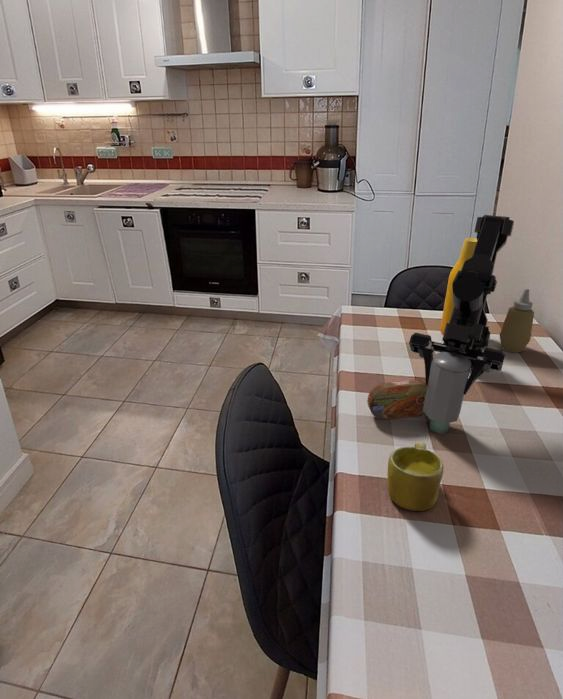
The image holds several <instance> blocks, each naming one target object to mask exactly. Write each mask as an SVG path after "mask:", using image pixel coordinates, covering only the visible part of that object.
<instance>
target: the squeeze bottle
mask: <svg viewBox="0 0 563 699" xmlns="http://www.w3.org/2000/svg"><path fill="white" fill-rule="evenodd" d="M533 304H534V303H533V302H532V301H531V300H530V289H528V288H524V290H523V291H522V293H521V295H520V296H519V298H518V299H517V298H516V299H514V302H513V305H512V306H511V307H509V308H508V311H507V313H506V316H505V320H504V322H503V324H502V328H500V329H501V330H500V332H499V340H500V347H501V348H502V349H503V350H505V351H508V352H511V353H521V352H523V351H524V350H525V349H526V347H527V345H528V344H529V343H530V341H531V337H532V330H533V323H534V317H535V316H534V315H535V311H534V310H533V309H532V308H533V306H534V305H533Z"/></svg>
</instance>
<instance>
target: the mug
mask: <svg viewBox="0 0 563 699" xmlns="http://www.w3.org/2000/svg"><path fill="white" fill-rule="evenodd" d="M443 475H444V463H443V460H442V458H441V457H440V456H439V455H438V454H436V453H435V452H434V451H432V450H428V449H427V444H426V443H425V442H423V441H417V440H416V441H415V443H414V446H400V447H397V448H396V449H394V450H392V452H391V453H390V455H389V457H388V460H387V491H388V496H389V497H390V499H391V501H392V502H394V503H395V504H396V505H397V506H398V507H400V508H401V509H404V510H408V511H412V512H414V511H415V512H416V511H418V512H424V511H428V510H430V509H432V508H433V507H434V506H435V504H436V502H437V500H438V496H439V489H440V485H441V482H442V479H443Z"/></svg>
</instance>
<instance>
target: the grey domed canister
mask: <svg viewBox="0 0 563 699" xmlns="http://www.w3.org/2000/svg"><path fill="white" fill-rule="evenodd" d="M471 365H472V364H471V362H470V360H469V359H468V358H467V357H465V356H463V355H461V354H458V353H454V352H437V353H436V354H435V355H433V361H432V365H431V370H430V375H429V380H428V386H427V391H426V396H425V401H424V406H423V412H424V414H425V416H427V418H428V419H429V420H430V419H431V420H434V421H438V422H441V423H444V424H445V423H454V422H458V419H459V417H460V414H461V411H462V406H463V403H464V402H463V401H464V397H465V395H464V390H465V386H466V383H467V381H468V379H469V376H470V374H471V370H472V368H471Z"/></svg>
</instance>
